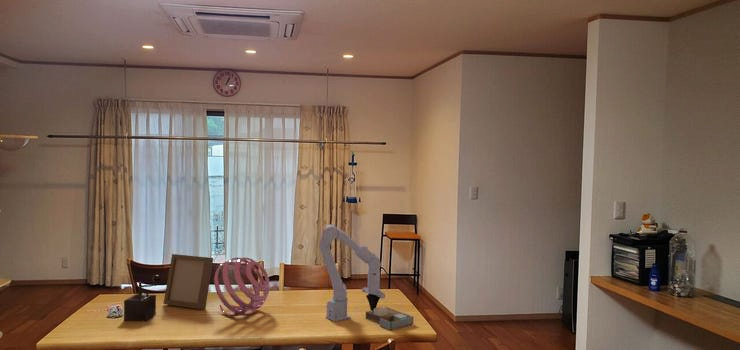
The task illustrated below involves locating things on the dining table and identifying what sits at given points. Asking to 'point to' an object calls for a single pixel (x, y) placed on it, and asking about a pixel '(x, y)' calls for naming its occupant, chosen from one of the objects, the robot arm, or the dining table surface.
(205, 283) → the photo frame
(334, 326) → the dining table surface
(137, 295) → the manual coffee grinder
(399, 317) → the sage tile
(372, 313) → the board
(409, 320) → the tray
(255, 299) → the spiral basket
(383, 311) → the beige block
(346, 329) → the dining table surface
